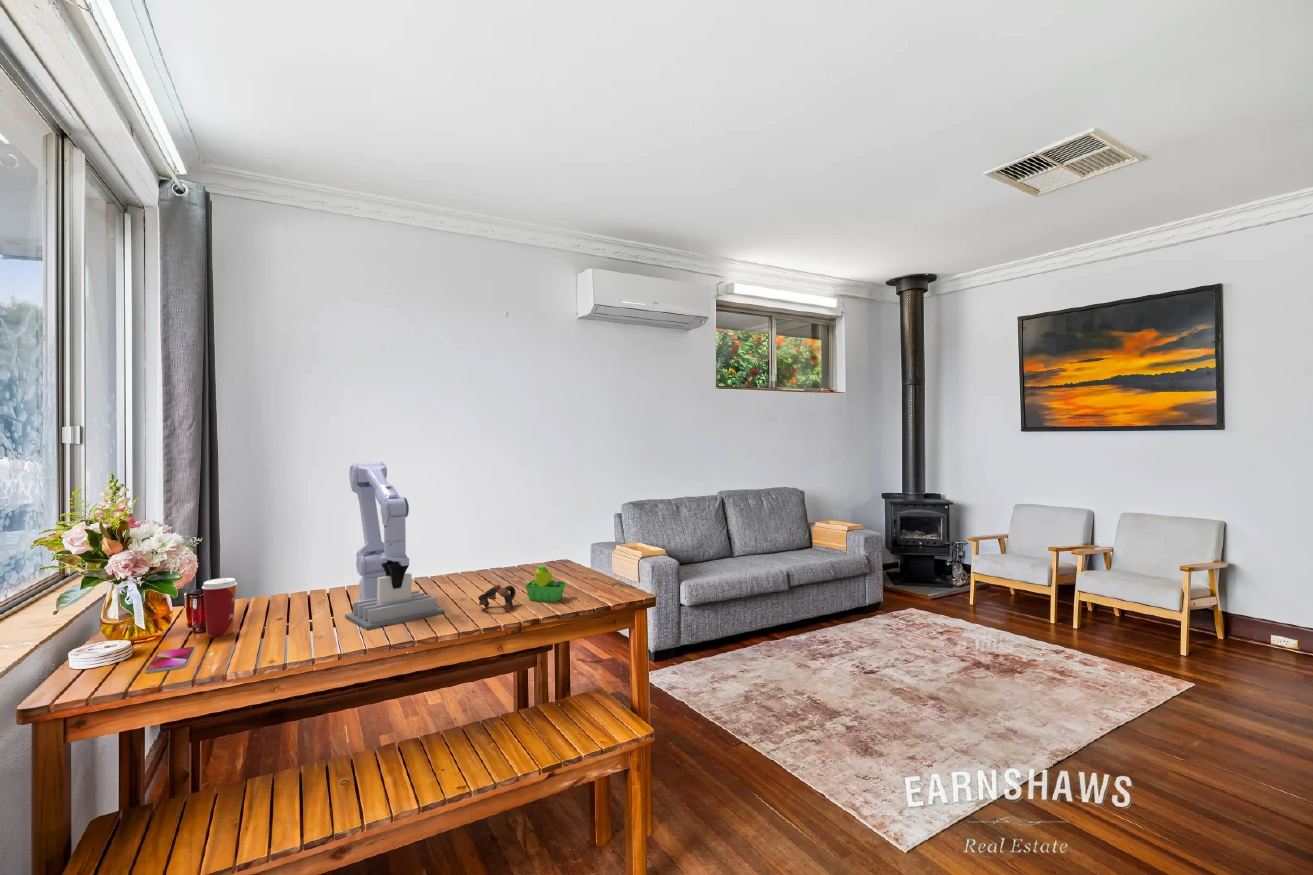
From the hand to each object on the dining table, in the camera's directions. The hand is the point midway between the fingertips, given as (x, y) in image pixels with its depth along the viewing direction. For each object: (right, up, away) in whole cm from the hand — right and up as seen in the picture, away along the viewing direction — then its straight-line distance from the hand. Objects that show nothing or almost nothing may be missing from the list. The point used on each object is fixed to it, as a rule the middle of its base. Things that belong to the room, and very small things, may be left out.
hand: (395, 587), depth 178 cm
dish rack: (0, -8, 0) cm, 8 cm away
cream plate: (0, -5, 0) cm, 5 cm away
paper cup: (-40, -9, -16) cm, 43 cm away
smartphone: (-37, -9, -35) cm, 52 cm away
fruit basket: (+40, -8, +17) cm, 44 cm away
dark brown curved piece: (+28, -8, +7) cm, 30 cm away
